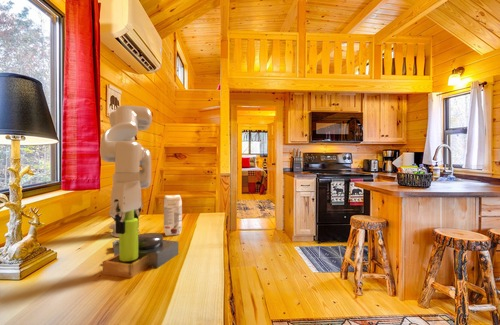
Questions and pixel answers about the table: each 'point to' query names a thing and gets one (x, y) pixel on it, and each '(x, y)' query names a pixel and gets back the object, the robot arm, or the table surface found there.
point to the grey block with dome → (142, 256)
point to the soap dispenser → (129, 238)
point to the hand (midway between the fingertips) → (127, 230)
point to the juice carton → (172, 215)
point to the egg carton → (115, 244)
